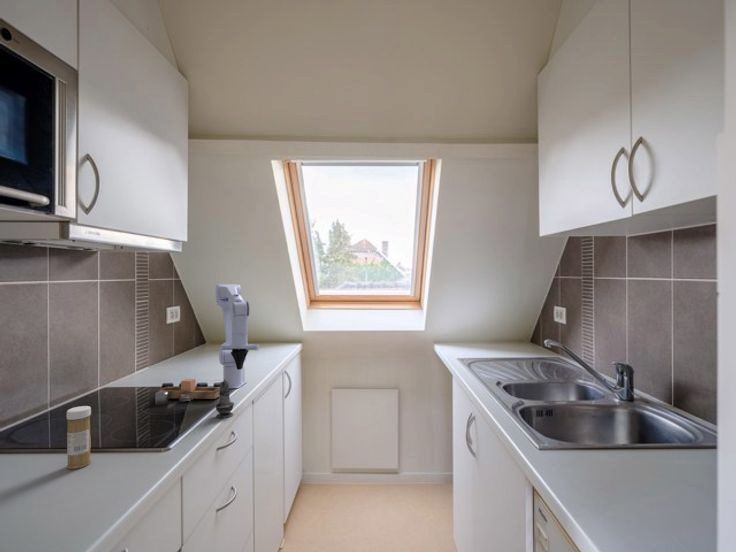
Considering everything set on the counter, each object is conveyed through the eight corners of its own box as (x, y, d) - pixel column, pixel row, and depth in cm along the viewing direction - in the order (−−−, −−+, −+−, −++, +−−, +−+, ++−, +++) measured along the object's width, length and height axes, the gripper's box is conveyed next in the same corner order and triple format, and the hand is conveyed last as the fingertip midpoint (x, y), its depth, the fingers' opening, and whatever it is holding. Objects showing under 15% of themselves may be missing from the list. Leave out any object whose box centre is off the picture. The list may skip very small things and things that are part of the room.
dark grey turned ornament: (237, 412, 124) (237, 376, 125) (229, 419, 119) (229, 380, 119) (220, 412, 125) (220, 376, 125) (211, 418, 119) (211, 380, 119)
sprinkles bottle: (92, 459, 92) (92, 404, 92) (88, 467, 88) (88, 409, 88) (69, 463, 90) (69, 406, 90) (63, 472, 86) (64, 412, 86)
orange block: (181, 392, 139) (181, 381, 139) (186, 389, 142) (186, 378, 142) (190, 392, 138) (190, 381, 138) (195, 389, 142) (195, 378, 142)
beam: (155, 401, 137) (155, 391, 137) (166, 395, 144) (166, 386, 144) (214, 401, 136) (214, 392, 136) (222, 396, 143) (222, 386, 143)
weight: (159, 401, 137) (159, 390, 137) (170, 402, 136) (170, 390, 136) (152, 405, 133) (153, 394, 133) (163, 405, 132) (163, 394, 132)
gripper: (216, 334, 141) (216, 371, 141) (254, 334, 140) (254, 371, 140) (224, 332, 148) (224, 367, 148) (261, 332, 147) (261, 367, 147)
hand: (239, 369), depth 144 cm, fingers closed
